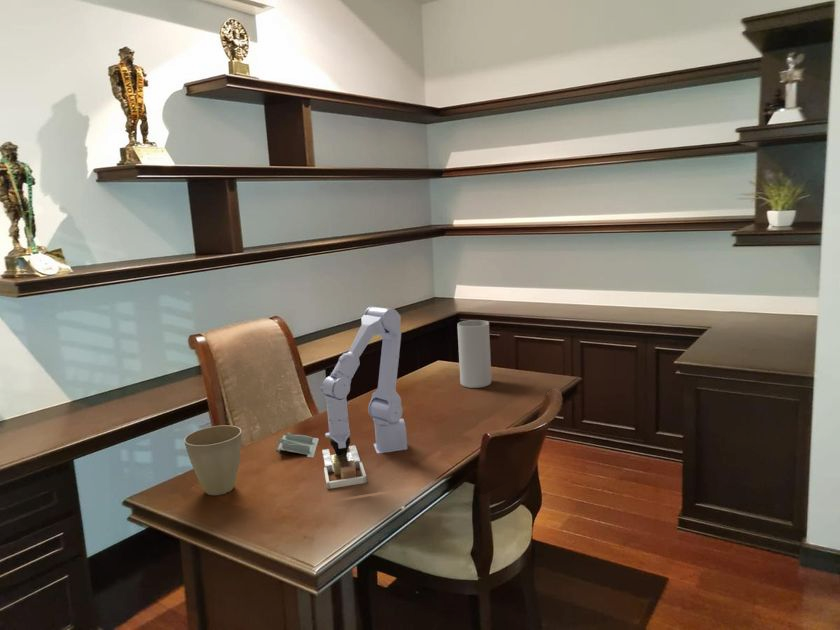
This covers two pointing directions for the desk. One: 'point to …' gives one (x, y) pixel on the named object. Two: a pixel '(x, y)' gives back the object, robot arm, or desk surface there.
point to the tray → (346, 481)
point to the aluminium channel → (328, 458)
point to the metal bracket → (298, 444)
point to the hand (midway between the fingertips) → (342, 462)
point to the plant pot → (215, 457)
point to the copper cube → (347, 469)
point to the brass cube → (336, 462)
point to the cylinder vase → (474, 353)
